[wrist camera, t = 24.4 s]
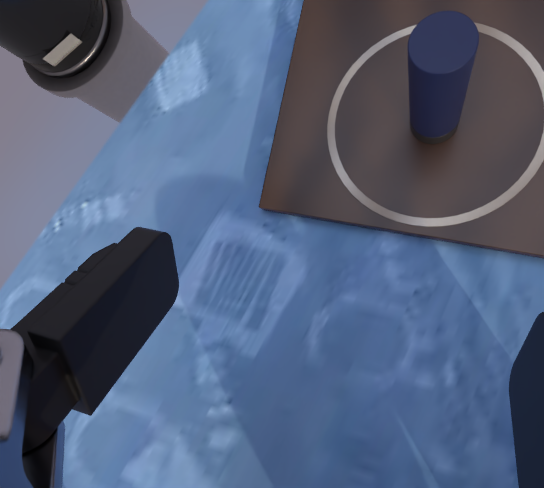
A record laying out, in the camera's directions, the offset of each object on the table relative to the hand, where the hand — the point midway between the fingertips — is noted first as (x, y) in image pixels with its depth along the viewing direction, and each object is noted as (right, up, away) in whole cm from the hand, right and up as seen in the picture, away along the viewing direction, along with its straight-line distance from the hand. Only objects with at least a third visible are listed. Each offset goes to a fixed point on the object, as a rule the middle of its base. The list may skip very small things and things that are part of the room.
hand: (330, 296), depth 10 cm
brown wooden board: (+8, +10, +19) cm, 22 cm away
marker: (+9, +9, +17) cm, 21 cm away
